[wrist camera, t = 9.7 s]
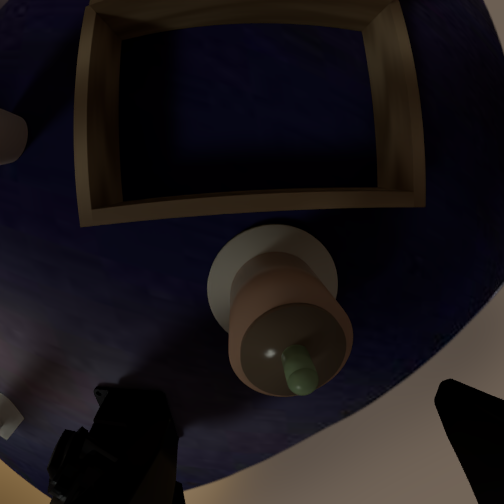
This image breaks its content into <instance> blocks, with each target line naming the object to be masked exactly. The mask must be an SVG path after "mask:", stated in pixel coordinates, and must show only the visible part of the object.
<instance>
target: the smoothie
mask: <svg viewBox="0 0 504 504" xmlns="http://www.w3.org/2000/svg"><path fill="white" fill-rule="evenodd" d="M27 138H28V128H27V124H26V122H25V120H24V119H23V118H22V117H20V116H17V115H15V114H13V113H10V112H8V111H6V110H3V109H1V108H0V165H3V164H7V163H12V162H14V161H16V160H17V159H18V158H19V157H20V156H21V154H22V153H23V151H24V149H25V146H26V143H27Z"/></svg>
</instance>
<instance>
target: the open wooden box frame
mask: <svg viewBox="0 0 504 504" xmlns="http://www.w3.org/2000/svg"><path fill="white" fill-rule="evenodd" d="M240 23H286V24H304V25H316V26H326V27H335V28H342V29H349V30H356V31H362V35H363V40H364V45H365V51H366V57H367V63H368V70H369V77H370V85H371V93H372V102H373V111H374V123H375V136H376V152H377V179H378V187H325V188H288V189H265V190H246V191H230V192H216V193H203V194H191V195H180V196H169V197H159V198H150V199H141V200H132V201H124V202H123V196H122V184H121V169H120V150H119V74H120V56H121V43H122V40H126V39H130V38H134V37H139V36H143V35H148V34H153V33H158V32H164V31H170V30H176V29H183V28H191V27H199V26H209V25H222V24H240ZM74 160H75V178H76V191H77V202H78V211H79V219H80V227H87V226H96V225H105V224H114V223H123V222H133V221H144V220H154V219H165V218H177V217H189V216H202V215H216V214H231V213H247V212H264V211H283V210H306V209H334V208H375V207H425V198H426V180H425V150H424V135H423V123H422V113H421V104H420V97H419V89H418V83H417V77H416V71H415V65H414V60H413V55H412V50H411V45H410V41H409V37H408V33H407V29H406V25H405V21H404V17H403V13H402V10H401V7H400V3H399V0H90V3H89V6H87V7H86V8H85V13H84V18H83V24H82V30H81V36H80V43H79V51H78V60H77V70H76V82H75V99H74Z"/></svg>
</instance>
